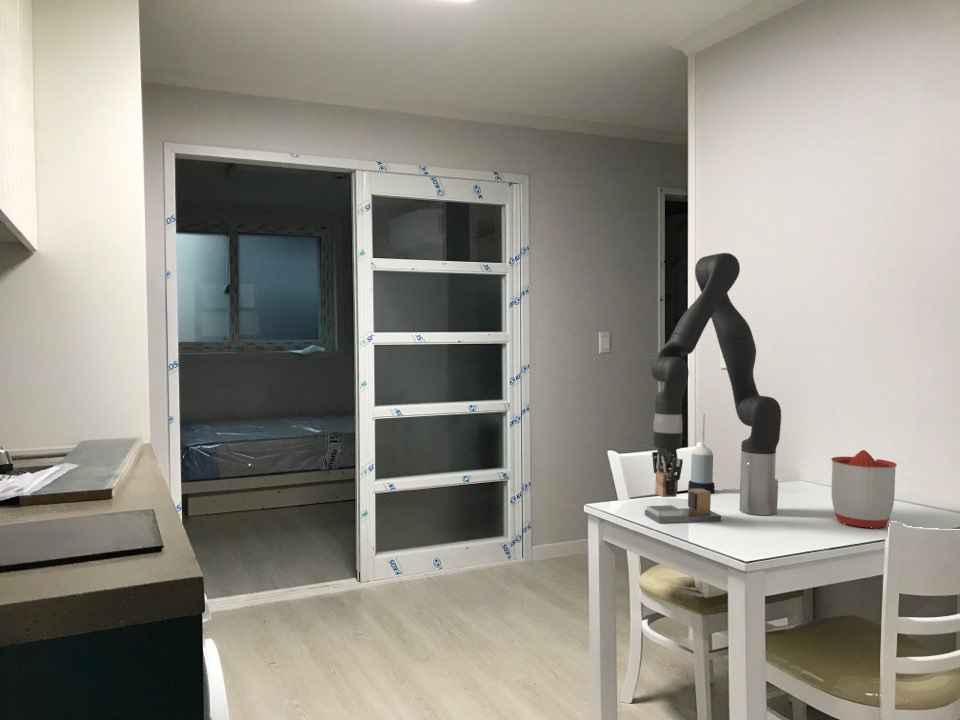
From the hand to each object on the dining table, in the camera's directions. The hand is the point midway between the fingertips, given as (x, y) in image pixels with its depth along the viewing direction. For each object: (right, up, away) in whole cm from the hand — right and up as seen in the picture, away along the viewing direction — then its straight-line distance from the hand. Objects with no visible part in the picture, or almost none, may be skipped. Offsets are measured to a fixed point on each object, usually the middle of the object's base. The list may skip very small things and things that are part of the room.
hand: (665, 492), depth 196 cm
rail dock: (+5, -7, +1) cm, 9 cm away
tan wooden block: (0, -1, 0) cm, 1 cm away
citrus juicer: (+53, -8, 0) cm, 54 cm away
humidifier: (+21, -7, +37) cm, 43 cm away
